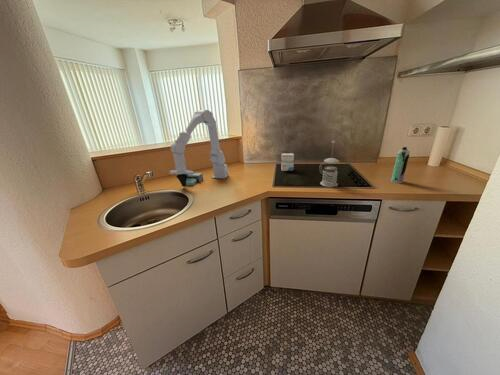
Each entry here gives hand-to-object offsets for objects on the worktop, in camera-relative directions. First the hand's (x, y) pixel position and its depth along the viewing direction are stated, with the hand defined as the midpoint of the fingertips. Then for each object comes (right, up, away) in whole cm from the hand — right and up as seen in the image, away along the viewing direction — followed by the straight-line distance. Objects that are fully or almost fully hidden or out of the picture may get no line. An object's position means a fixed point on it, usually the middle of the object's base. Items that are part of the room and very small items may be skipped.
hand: (184, 185), depth 122 cm
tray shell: (+1, +1, +6) cm, 7 cm away
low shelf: (+3, +4, +12) cm, 13 cm away
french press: (+86, +1, -3) cm, 86 cm away
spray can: (+125, +2, -4) cm, 126 cm away
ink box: (+67, +12, +26) cm, 73 cm away
